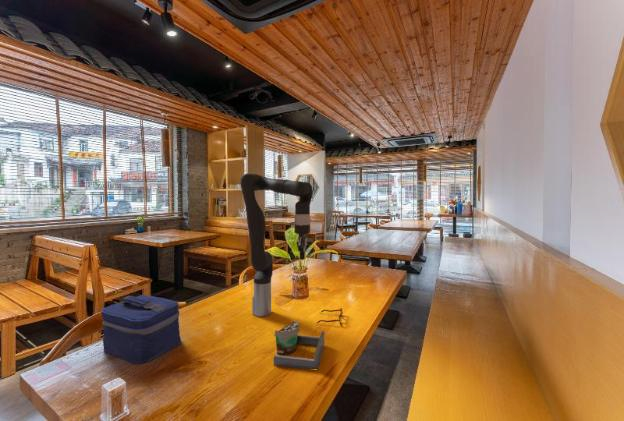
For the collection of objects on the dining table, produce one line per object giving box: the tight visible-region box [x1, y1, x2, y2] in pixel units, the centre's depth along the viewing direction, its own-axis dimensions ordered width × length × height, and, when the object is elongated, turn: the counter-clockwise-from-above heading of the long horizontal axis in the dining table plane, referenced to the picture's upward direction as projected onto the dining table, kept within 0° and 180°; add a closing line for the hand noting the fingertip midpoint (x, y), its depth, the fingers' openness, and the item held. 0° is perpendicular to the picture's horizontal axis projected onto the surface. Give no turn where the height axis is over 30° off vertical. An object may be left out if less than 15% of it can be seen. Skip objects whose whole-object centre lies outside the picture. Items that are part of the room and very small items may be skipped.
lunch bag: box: [100, 294, 182, 365], centre depth 117 cm, size 31×21×20 cm
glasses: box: [316, 307, 344, 326], centre depth 142 cm, size 13×13×5 cm
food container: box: [274, 319, 300, 356], centre depth 113 cm, size 12×6×10 cm, turn 144°
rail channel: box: [273, 331, 325, 370], centre depth 111 cm, size 17×17×6 cm
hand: (302, 259), depth 133 cm, fingers closed
